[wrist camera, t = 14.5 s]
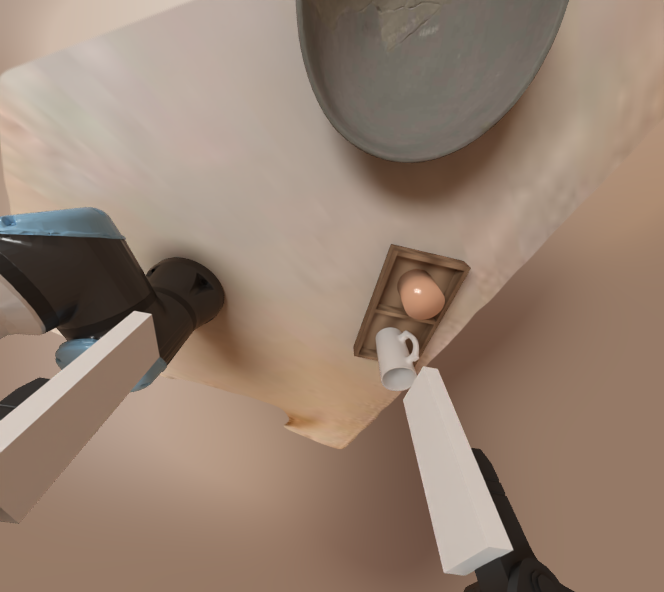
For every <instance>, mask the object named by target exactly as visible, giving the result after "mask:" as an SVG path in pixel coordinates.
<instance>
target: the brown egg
mask: <svg viewBox="0 0 664 592" xmlns="http://www.w3.org/2000/svg"><path fill="white" fill-rule="evenodd" d="M397 290H398V293H399V295H400V298H401V301H402V303H403V306H404V309H405V311H406V313H407V314H408V315H409V316H410V317H412V318H414V319H418V320H425V319H429V318H432V317H434V316H435V315H437V314H438V313H439V312H440V311H441V310H442V308H443V306H444V304H445V298H444V295H443V293H442V292H441V290H440V289H439V287H438V286H437V284H436V283H435V281H434V280H433V278H432V277H431V275H430V274H429V273H428V272H427V271H425V270H422V269H413V270H410V271H407V272H406V273H404V274H403V275H402V276H401V277H400V279H399V280H398V283H397Z"/></svg>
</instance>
